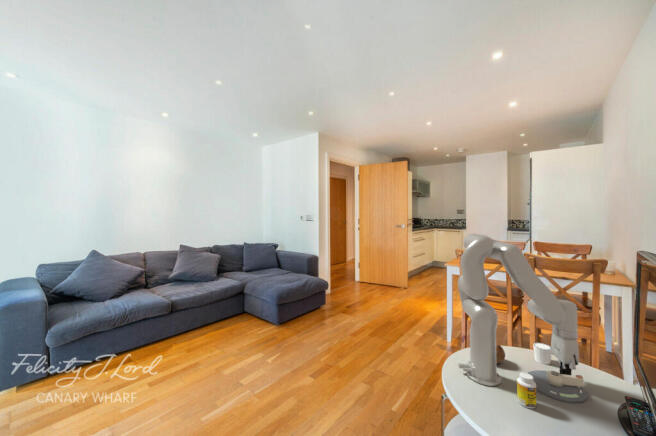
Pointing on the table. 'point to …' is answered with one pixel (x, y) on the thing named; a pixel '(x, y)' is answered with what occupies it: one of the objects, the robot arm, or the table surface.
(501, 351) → the onion
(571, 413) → the table surface
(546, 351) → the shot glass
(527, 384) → the supplement bottle
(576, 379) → the lever
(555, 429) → the table surface
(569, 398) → the dial
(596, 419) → the table surface
